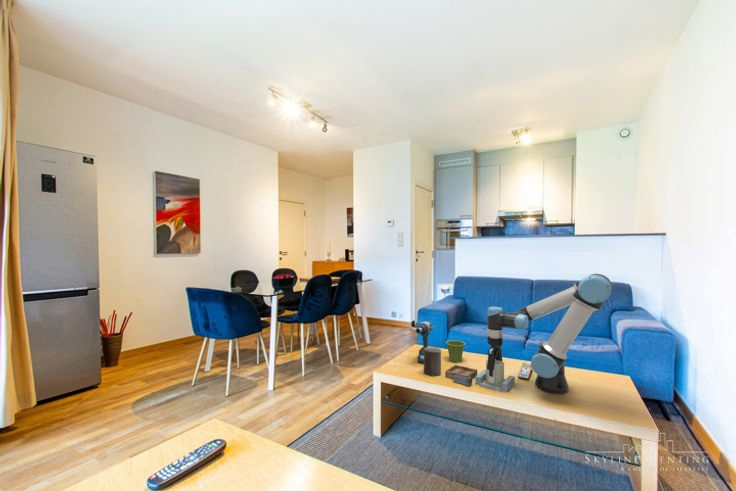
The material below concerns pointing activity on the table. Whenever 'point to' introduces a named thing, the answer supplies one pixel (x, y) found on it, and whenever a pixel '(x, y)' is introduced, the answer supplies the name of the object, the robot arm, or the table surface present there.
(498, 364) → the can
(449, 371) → the tray
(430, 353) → the pillar candle
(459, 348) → the plant pot
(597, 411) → the table surface
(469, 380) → the grey t-shaped block
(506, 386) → the socket block
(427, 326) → the impact wrench
